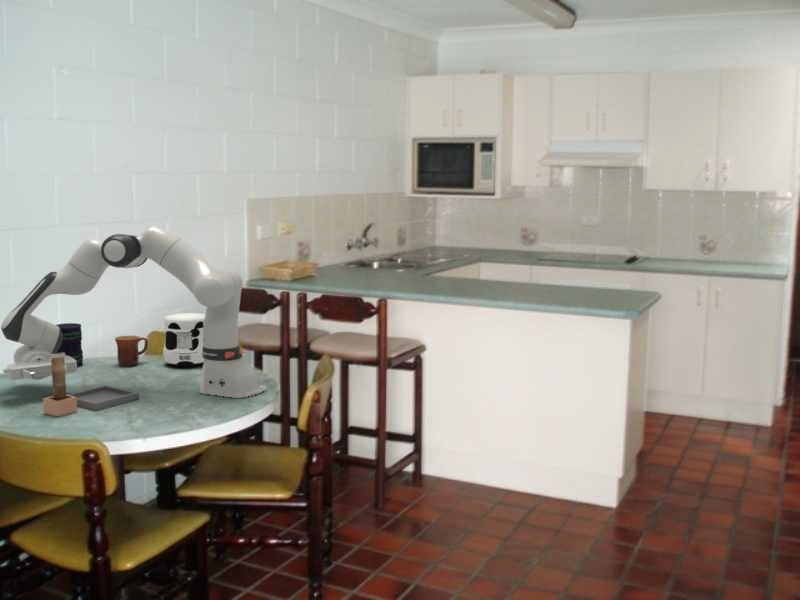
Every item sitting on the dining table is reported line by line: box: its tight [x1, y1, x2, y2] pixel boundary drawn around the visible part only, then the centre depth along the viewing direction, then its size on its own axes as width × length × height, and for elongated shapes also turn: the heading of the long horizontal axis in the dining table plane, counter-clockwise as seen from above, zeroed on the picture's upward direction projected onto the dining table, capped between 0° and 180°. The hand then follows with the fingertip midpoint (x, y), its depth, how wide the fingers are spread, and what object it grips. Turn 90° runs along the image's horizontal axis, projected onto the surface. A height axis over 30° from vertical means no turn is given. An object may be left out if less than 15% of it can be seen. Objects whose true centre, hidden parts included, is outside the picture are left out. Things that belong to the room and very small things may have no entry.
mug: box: [114, 335, 149, 367], centre depth 316 cm, size 12×9×10 cm
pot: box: [42, 394, 78, 418], centre depth 253 cm, size 7×7×4 cm
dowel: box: [51, 357, 67, 401], centre depth 252 cm, size 4×4×16 cm
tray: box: [66, 384, 140, 412], centre depth 266 cm, size 16×16×2 cm
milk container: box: [162, 312, 206, 367], centre depth 316 cm, size 17×17×18 cm
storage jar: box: [55, 322, 84, 368], centre depth 312 cm, size 10×10×15 cm
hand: (48, 373), depth 261 cm, fingers open, 8 cm apart
